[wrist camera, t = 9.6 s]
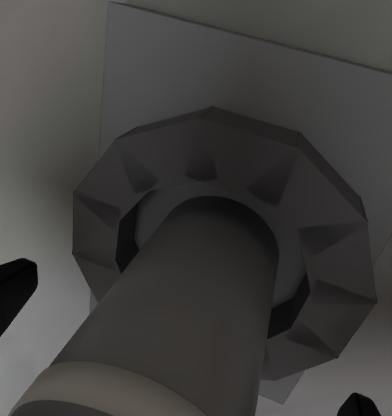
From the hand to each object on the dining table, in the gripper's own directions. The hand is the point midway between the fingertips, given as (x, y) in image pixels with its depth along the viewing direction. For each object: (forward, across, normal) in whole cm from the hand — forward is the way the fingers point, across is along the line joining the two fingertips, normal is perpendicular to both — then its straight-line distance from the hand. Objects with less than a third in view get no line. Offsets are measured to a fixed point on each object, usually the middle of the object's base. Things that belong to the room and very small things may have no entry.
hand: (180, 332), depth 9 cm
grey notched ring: (+5, 0, 0) cm, 5 cm away
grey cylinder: (+4, 0, 0) cm, 4 cm away
